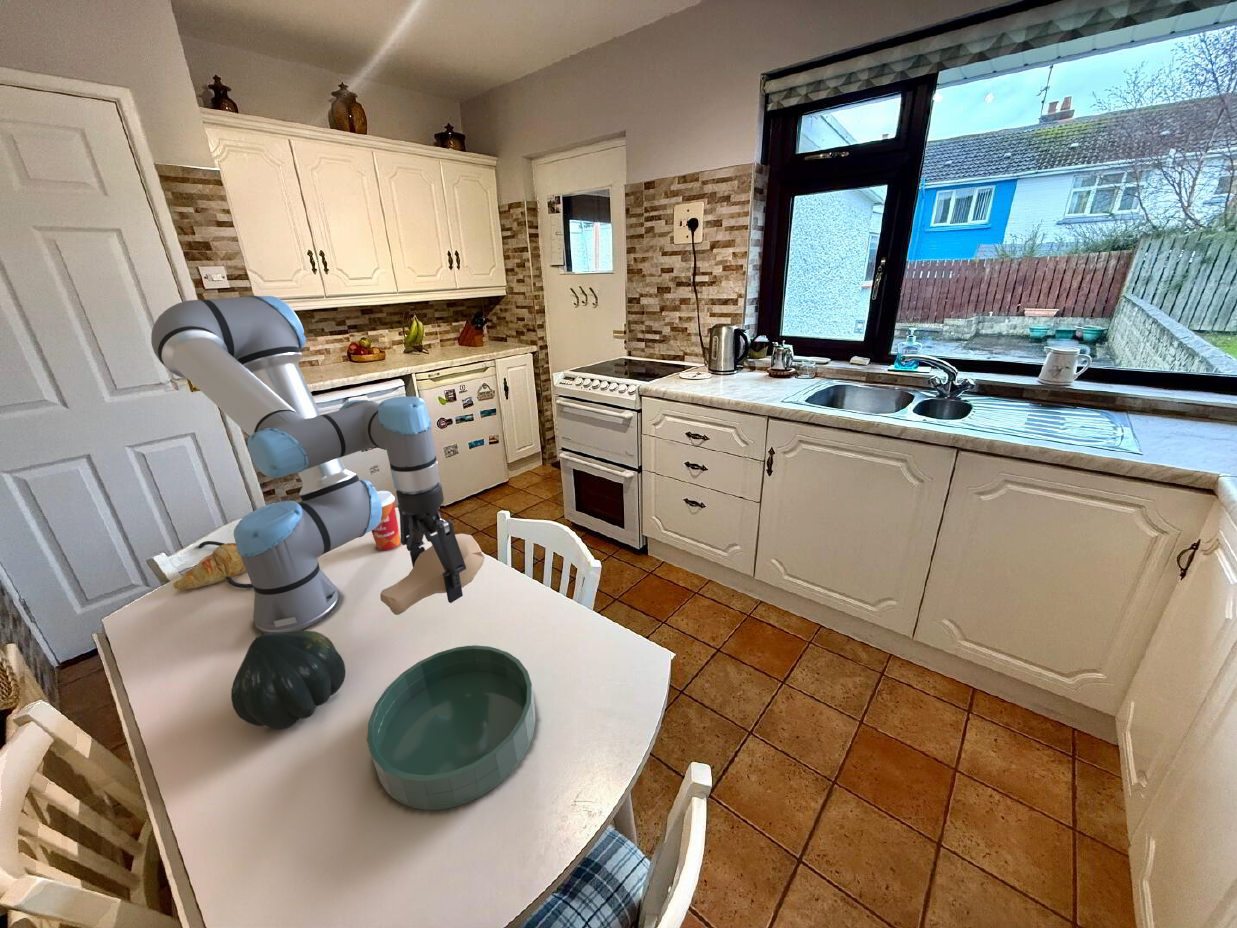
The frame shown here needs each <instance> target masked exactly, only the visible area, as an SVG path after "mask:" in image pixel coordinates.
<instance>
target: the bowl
mask: <svg viewBox="0 0 1237 928" xmlns="http://www.w3.org/2000/svg"><path fill="white" fill-rule="evenodd" d="M535 704H536V703H535V698H534V690H533V684H532V681H531V677H530V674H529V671H528V670H527V668H526V667H525V666H524V664H523V663H522V662H521V660H520V659H518V658H517V657H516V656H514V655H513V654H511V653H510V652H508V651H506V650H503V649H500V648H496V647H494V646H490V645H489V646H487V645H477V644H476V645H475V644H473V645H465V646H457V647H453V648H449V649H446V650H443V651H440V652H437V653H434V654H432V655H430V656H428V657H426V658H423V659H421V660H419V661H418V662H416V663H415V664H413V665H412V666H410V667H409V668H407V669H406V670H404V671H403V672H402V673H401V674H400V675H399V676H398V677H396V678H395V679H394V680H393V681H392V682H391V683H390V684H389V685H388V686H387V687H386V688H385V689H384V691H383V692H382V694H381V696H380V697H379V698H378V700H377V701H376V703H375V704H374V706H373V709H372V711H371V714H370V717H369V719H368V722H367V731H366V733H367V734H366V743H367V746H368V749H369V752H370V756H371V758H372V759H371V760H372V762H373V765H374V767H375V771H376V773H377V776H378V777H377V778H378V780H379V782H380V785H381V786H382V787H383V789H384V790H385V792H386V793H387V794H388V795H389V796H390V797H391V798H392V799H394V800H395V801H397V802H399V804H402V805H404V806H407V807H410V808H413V809H417V810H424V811H425V810H427V811H437V810H438V811H439V810H446V809H450V808H451V809H452V808H455V807H459V806H462V805H465V804H468V803H470V802H473V801H474V800H477V799H479V798H481V797H483V796H484V795H486V794H487V793H489V792H490V791H492V790H493V789H494V788H496V787H497V786H499V785H501V783H502V782H503V781H505V780H506V779H507V778H508V777H509V776H510V775H511V774H512V773H513V772H514V770H515V769H516V768H517V767H518V765H519V764H520V762H521V761H522V760H523V758H524V757H525V755H526V753H527V751H528V750H529V747H530V745H531V742H532V740H533V736H534V732H535V727H536V705H535Z"/></svg>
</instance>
